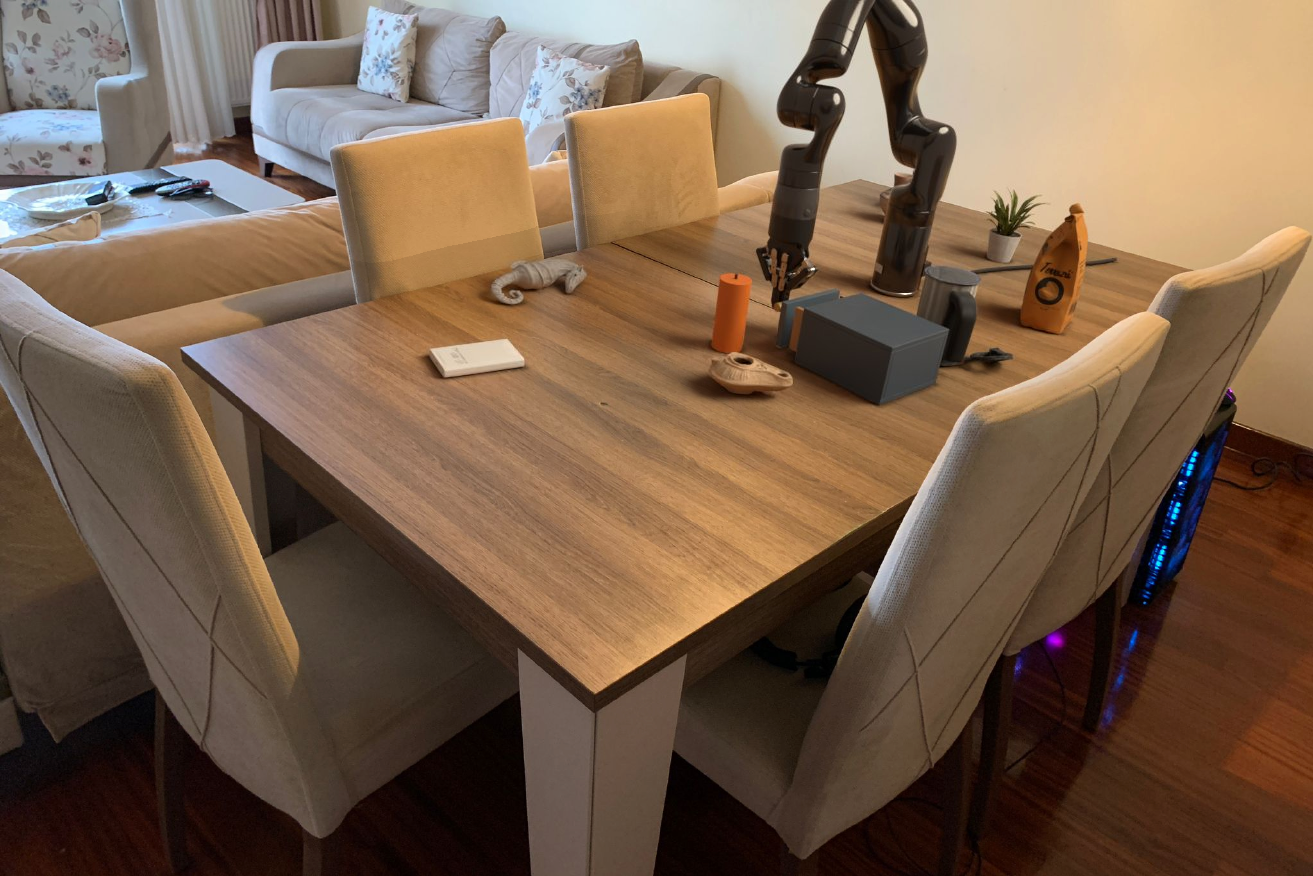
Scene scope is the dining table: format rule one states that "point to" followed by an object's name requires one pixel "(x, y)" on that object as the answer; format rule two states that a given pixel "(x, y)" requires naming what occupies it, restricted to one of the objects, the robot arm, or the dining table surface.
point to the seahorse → (537, 277)
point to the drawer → (798, 315)
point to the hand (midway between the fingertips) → (778, 308)
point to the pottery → (898, 180)
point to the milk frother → (954, 312)
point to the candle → (731, 312)
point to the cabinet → (870, 347)
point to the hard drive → (476, 358)
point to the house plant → (1007, 228)
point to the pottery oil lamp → (747, 374)
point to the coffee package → (1057, 276)
